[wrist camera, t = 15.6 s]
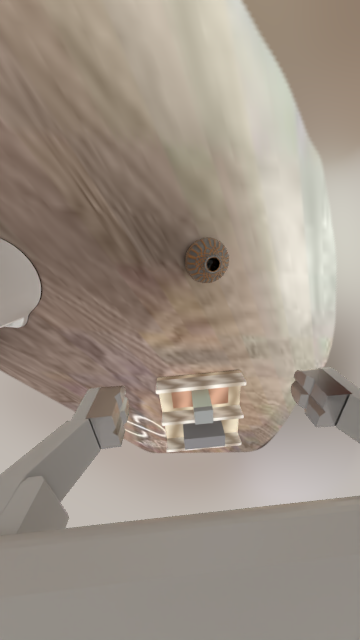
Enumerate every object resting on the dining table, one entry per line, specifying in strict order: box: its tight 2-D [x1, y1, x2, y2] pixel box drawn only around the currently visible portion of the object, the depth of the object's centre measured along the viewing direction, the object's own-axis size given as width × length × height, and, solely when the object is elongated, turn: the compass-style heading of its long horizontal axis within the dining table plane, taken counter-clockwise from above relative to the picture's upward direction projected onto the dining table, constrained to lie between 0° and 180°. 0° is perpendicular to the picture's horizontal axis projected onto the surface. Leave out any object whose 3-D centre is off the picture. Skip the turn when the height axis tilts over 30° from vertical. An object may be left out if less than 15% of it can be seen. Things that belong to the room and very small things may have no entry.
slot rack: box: [156, 370, 246, 452], centre depth 45 cm, size 20×22×4 cm
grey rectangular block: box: [192, 389, 213, 425], centre depth 41 cm, size 4×4×6 cm
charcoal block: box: [183, 420, 225, 450], centre depth 46 cm, size 10×4×5 cm, turn 95°
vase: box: [185, 238, 229, 283], centre depth 28 cm, size 7×7×9 cm
